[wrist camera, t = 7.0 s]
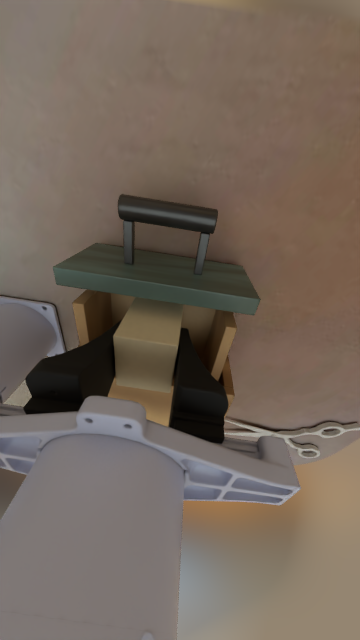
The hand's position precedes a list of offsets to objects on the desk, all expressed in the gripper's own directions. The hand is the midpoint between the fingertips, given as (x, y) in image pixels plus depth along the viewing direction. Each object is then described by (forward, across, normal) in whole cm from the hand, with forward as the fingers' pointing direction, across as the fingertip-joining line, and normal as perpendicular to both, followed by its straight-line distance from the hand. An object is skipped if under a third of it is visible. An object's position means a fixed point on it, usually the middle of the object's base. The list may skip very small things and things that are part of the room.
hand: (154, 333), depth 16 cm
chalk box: (+1, 0, 0) cm, 1 cm away
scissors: (+6, -20, +21) cm, 30 cm away
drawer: (+5, 0, 0) cm, 5 cm away
